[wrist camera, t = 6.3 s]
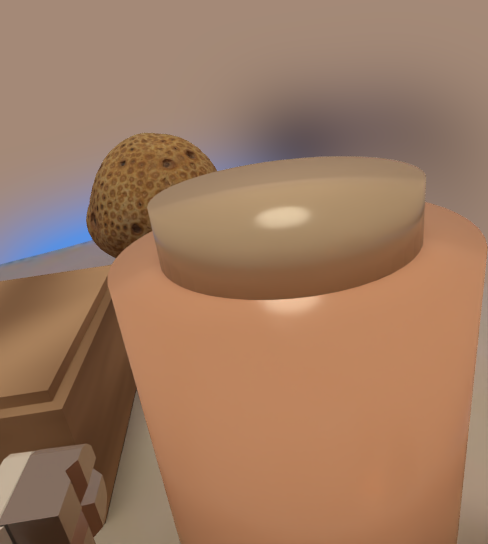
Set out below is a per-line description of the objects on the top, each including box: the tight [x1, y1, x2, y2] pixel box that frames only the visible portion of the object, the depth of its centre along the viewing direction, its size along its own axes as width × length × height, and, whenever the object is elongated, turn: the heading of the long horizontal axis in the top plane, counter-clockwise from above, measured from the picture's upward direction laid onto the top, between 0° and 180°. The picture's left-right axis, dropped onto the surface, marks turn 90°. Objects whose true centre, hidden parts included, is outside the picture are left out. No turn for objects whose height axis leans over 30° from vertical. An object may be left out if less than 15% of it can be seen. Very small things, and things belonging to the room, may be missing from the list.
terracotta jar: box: [108, 156, 488, 544], centre depth 8 cm, size 5×5×11 cm
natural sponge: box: [86, 133, 217, 258], centre depth 28 cm, size 9×9×10 cm
